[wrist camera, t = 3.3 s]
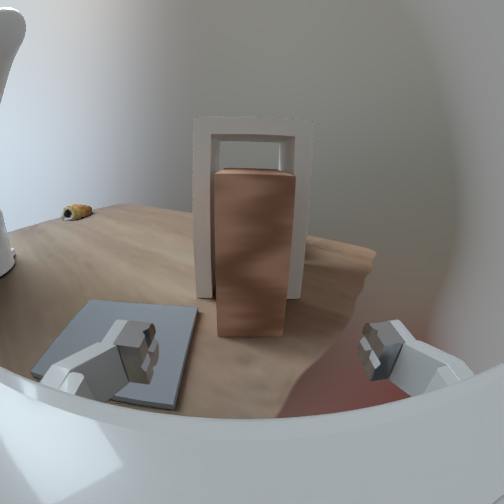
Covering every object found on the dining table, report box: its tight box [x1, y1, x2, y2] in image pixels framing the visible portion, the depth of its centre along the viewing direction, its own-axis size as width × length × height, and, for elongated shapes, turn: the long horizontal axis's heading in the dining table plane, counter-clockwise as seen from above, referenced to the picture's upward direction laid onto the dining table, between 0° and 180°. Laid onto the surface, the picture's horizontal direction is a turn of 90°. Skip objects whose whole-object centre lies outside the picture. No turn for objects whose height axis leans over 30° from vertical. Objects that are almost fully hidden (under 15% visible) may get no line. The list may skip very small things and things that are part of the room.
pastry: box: [62, 205, 92, 220], centre depth 61 cm, size 9×7×4 cm
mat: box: [31, 299, 198, 410], centre depth 18 cm, size 11×11×1 cm
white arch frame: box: [192, 117, 313, 299], centre depth 28 cm, size 10×10×16 cm
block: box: [215, 168, 296, 337], centre depth 23 cm, size 5×10×12 cm, turn 2°
